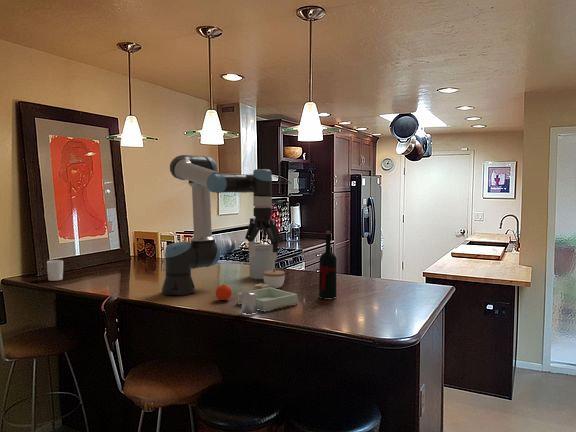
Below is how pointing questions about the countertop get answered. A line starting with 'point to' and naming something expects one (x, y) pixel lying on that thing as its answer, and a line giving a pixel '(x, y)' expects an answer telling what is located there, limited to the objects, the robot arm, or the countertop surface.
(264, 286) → the wood block
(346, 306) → the countertop surface
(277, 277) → the lidded jar
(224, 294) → the clementine
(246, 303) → the metal can
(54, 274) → the white cup
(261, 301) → the sage tray
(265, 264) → the utensil holder
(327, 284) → the wine bottle
